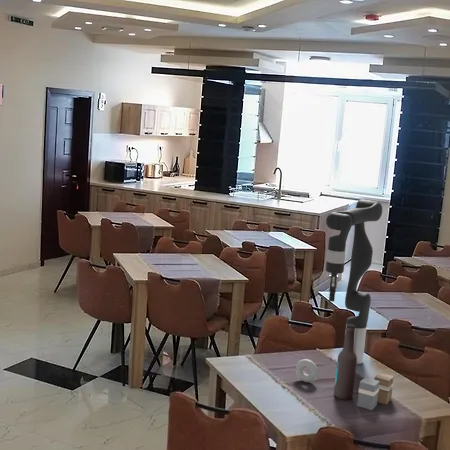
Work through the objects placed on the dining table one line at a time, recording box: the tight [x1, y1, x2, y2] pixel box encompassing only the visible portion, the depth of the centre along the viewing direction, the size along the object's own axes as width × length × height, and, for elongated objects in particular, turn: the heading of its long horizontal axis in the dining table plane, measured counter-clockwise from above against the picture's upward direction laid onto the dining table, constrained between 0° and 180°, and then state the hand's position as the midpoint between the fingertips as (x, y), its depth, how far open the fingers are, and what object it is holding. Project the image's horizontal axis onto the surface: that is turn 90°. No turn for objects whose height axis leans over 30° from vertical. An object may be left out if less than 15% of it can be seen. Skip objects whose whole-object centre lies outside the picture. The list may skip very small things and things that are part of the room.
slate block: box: [356, 377, 380, 411], centre depth 267 cm, size 6×6×10 cm
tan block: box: [373, 372, 395, 405], centre depth 273 cm, size 6×6×10 cm
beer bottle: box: [333, 324, 357, 401], centre depth 273 cm, size 8×8×30 cm
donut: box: [295, 358, 319, 383], centre depth 286 cm, size 10×3×10 cm, turn 57°
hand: (331, 300), depth 286 cm, fingers closed
